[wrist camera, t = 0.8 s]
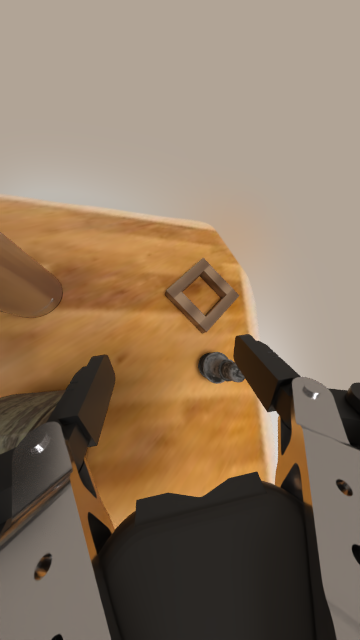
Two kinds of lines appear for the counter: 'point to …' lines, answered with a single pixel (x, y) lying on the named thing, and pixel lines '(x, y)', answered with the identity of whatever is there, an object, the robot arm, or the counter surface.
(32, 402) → the tabletop clock
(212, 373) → the chess piece
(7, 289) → the robot arm
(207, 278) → the socket block
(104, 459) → the counter surface
